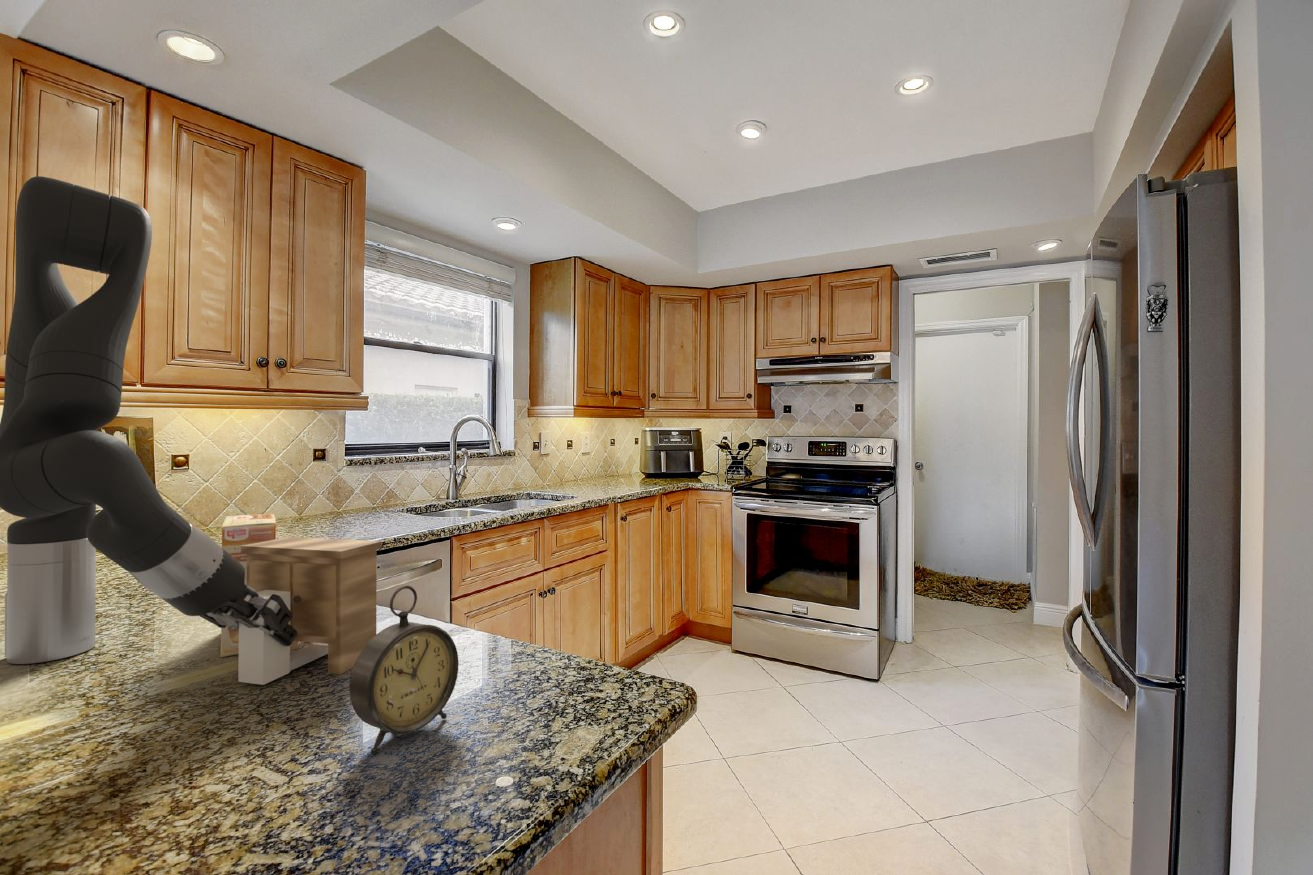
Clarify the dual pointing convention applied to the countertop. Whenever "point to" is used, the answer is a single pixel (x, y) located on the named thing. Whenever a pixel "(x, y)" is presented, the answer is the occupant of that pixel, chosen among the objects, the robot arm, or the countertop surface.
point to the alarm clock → (403, 676)
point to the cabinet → (322, 590)
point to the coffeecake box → (243, 556)
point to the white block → (270, 651)
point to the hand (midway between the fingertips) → (277, 637)
